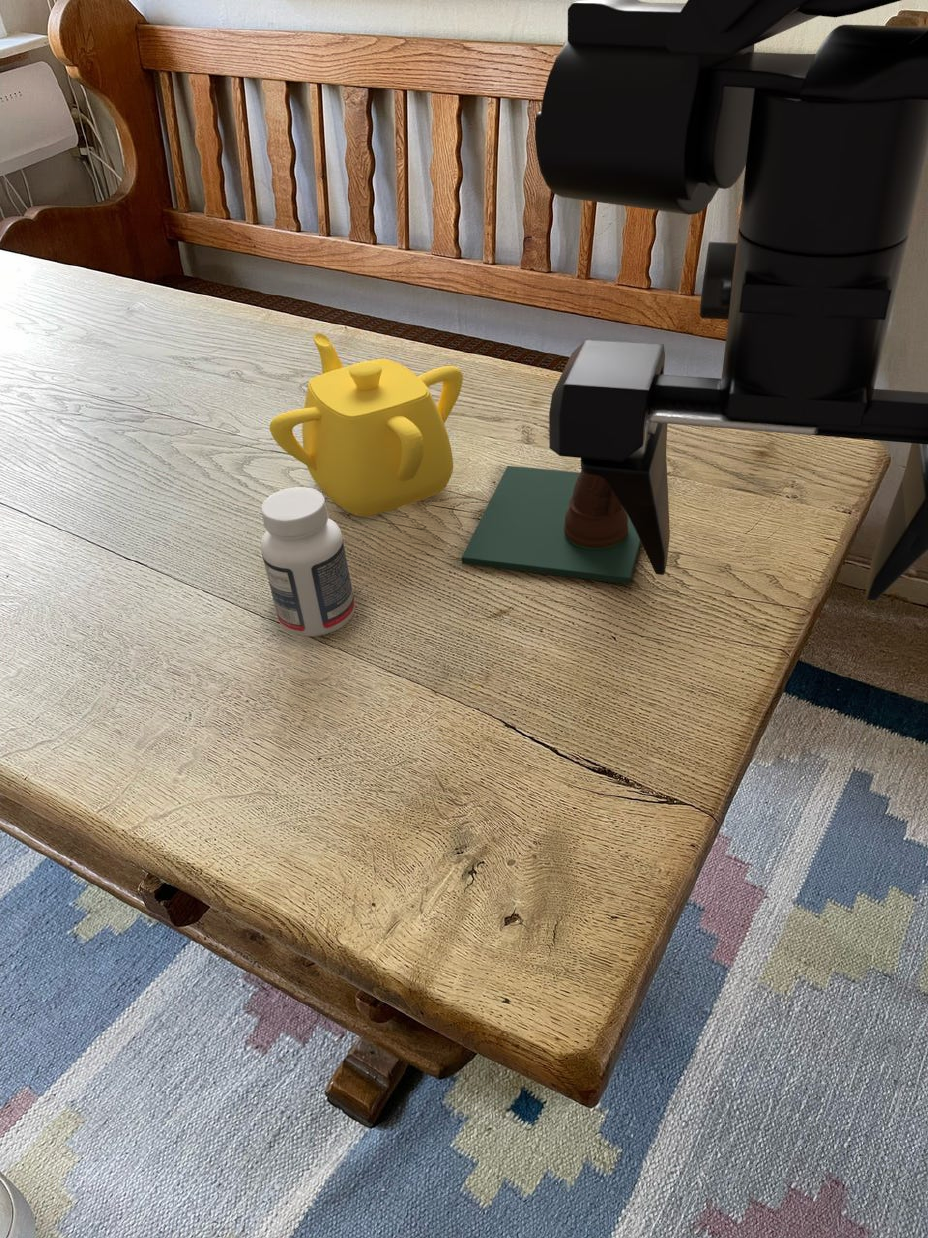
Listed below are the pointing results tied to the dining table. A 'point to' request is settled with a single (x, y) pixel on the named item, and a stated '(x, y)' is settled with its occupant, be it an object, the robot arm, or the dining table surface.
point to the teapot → (372, 432)
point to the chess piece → (595, 515)
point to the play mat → (543, 531)
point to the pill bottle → (305, 563)
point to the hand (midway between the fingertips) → (763, 581)
